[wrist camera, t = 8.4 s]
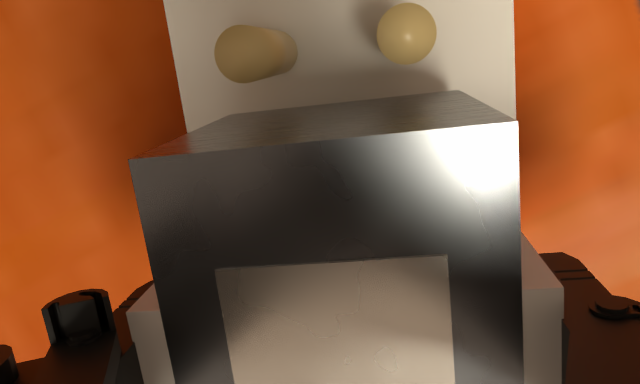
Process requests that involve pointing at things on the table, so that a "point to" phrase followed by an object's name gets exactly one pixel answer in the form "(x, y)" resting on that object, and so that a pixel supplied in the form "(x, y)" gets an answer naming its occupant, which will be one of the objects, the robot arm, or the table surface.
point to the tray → (337, 52)
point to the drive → (340, 244)
